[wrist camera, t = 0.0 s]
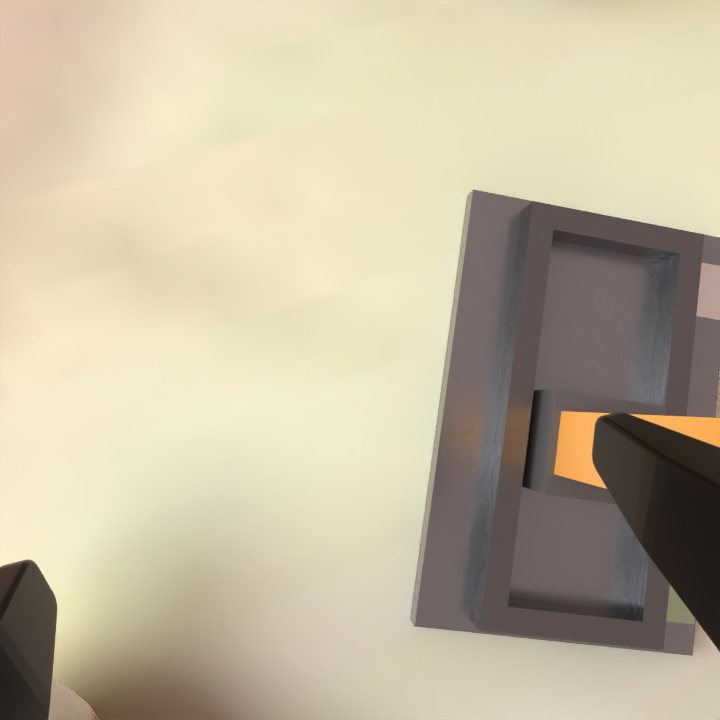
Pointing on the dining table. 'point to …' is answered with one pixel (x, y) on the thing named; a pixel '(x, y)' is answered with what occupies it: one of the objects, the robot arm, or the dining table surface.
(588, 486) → the breaker toggle
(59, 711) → the toy
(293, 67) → the dining table surface
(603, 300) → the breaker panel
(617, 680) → the dining table surface
